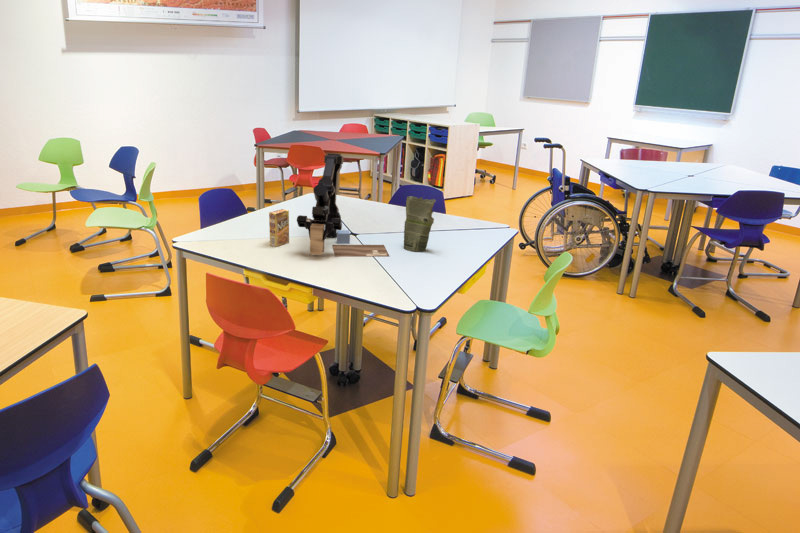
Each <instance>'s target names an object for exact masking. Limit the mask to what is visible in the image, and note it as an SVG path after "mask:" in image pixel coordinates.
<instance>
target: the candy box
mask: <svg viewBox="0 0 800 533" xmlns="http://www.w3.org/2000/svg"><path fill="white" fill-rule="evenodd" d="M268 217H269V218H268V219H269V222H268V223H269V224H268V225H269V245H270V246H272V247H275V248H277V247H280V246H282V245H285V244H289V243H290V211H289V210H287V209H283V208H281V209H278V210H274V211H270V212H268Z"/></svg>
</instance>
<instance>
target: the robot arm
mask: <svg viewBox="0 0 800 533" xmlns="http://www.w3.org/2000/svg"><path fill="white" fill-rule="evenodd" d="M323 157H324V159H323V160H324V161H323V162H324V163H323V164H324V169H323V173H322V177H321V178H320V179H319V180H318V182H317V184H316V185H315V186H314V187H313V189H312V190H313V196H314V199H315V201H316V202H315V206H312V209H311V210H312V211H311V215H312V216H311V217H312V218H313V219H311V218H309V217H308V215H300V214H299V215H298V216H297V217H296V222H297V225H298V227H299V228H305V229H306V230H308V235H309V238H310V226H311V225H312V224H325V226H324V234H323V241H324V242H325V241H326V239H327V238H337V230H343V229H342V228H343V222H342V217H341V213H340V211H339V210H340V209H339V207H338V205H337V191H338V179H339V178H338V177H339V172H340V171H341V170H342V167H343V164H344V156H342V154H341V153H331V152H327V154H325V155H324V156H323Z"/></svg>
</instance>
